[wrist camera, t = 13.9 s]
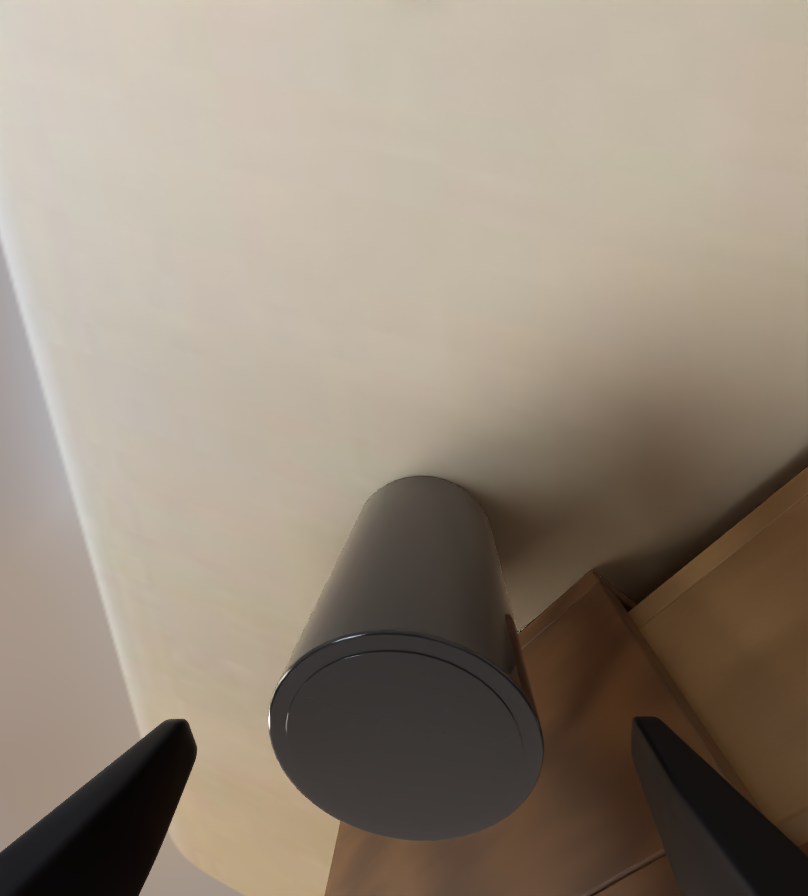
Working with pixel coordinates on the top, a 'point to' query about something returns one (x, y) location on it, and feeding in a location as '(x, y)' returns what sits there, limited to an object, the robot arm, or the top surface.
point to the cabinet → (559, 776)
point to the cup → (411, 676)
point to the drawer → (747, 650)
